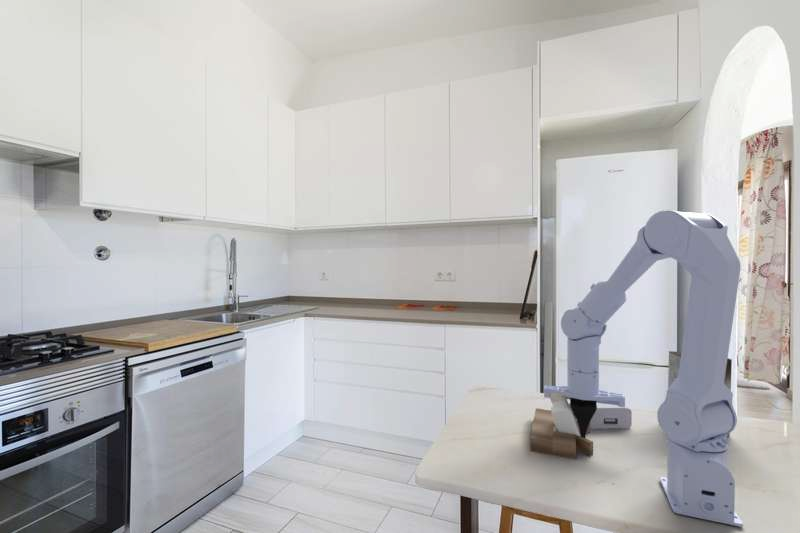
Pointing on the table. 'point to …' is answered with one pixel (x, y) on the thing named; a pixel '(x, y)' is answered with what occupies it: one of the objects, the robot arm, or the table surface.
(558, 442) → the locating nest
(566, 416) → the pepper shaker
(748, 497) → the table surface
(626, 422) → the charger
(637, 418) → the table surface
